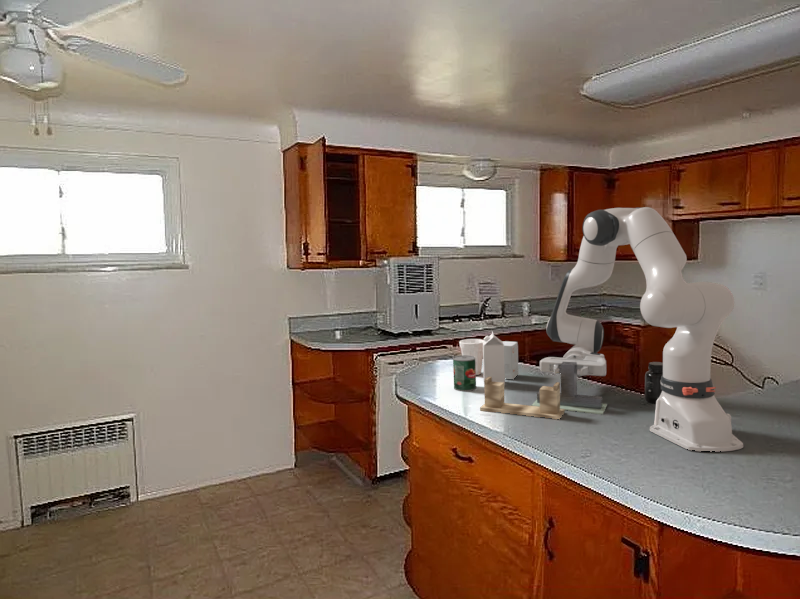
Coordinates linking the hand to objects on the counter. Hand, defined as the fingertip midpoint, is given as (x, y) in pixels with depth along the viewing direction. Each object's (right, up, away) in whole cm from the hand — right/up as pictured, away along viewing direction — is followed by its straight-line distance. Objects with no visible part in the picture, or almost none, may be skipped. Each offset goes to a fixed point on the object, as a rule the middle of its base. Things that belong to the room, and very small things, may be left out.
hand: (568, 372), depth 167 cm
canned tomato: (-28, -9, +27) cm, 40 cm away
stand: (-14, -12, -1) cm, 19 cm away
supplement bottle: (+29, -10, +3) cm, 30 cm away
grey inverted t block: (+1, -10, +2) cm, 11 cm away
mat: (+1, -11, +2) cm, 11 cm away
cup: (-23, -7, +46) cm, 52 cm away
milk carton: (-17, -9, +31) cm, 36 cm away
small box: (-11, -7, +40) cm, 42 cm away
